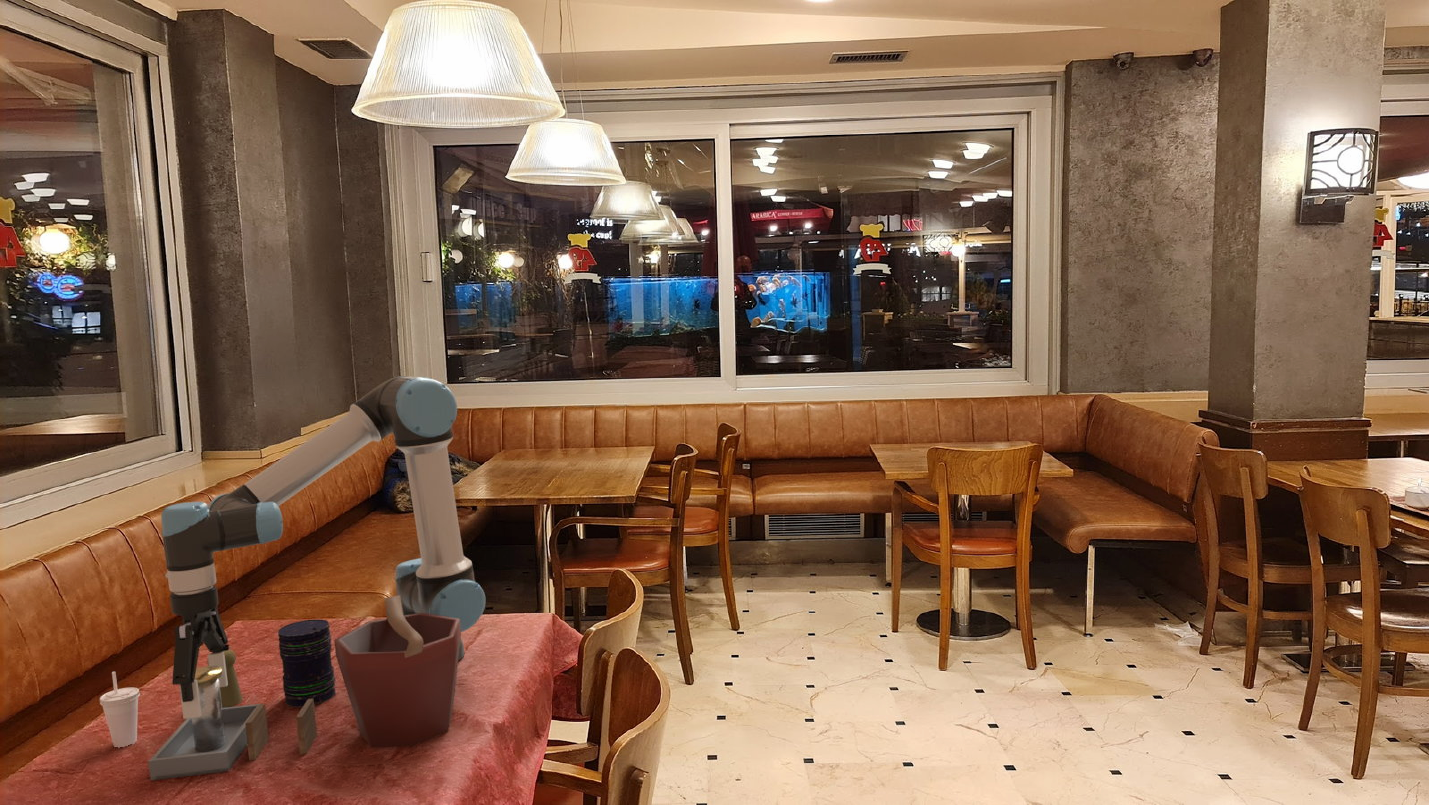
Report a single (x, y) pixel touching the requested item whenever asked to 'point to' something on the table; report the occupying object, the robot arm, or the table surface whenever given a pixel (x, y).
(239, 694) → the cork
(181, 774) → the tray
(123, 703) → the smoothie
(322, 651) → the storage jar
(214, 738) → the silver metal cylinder
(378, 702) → the bucket
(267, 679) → the table surface
